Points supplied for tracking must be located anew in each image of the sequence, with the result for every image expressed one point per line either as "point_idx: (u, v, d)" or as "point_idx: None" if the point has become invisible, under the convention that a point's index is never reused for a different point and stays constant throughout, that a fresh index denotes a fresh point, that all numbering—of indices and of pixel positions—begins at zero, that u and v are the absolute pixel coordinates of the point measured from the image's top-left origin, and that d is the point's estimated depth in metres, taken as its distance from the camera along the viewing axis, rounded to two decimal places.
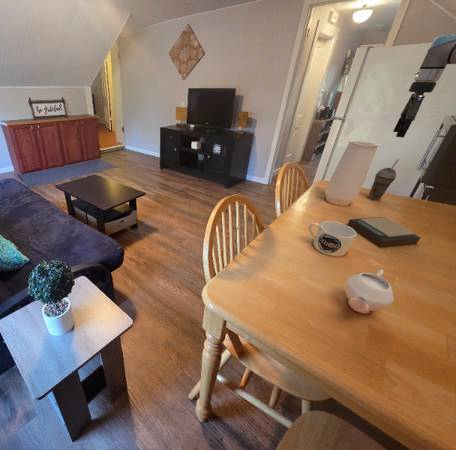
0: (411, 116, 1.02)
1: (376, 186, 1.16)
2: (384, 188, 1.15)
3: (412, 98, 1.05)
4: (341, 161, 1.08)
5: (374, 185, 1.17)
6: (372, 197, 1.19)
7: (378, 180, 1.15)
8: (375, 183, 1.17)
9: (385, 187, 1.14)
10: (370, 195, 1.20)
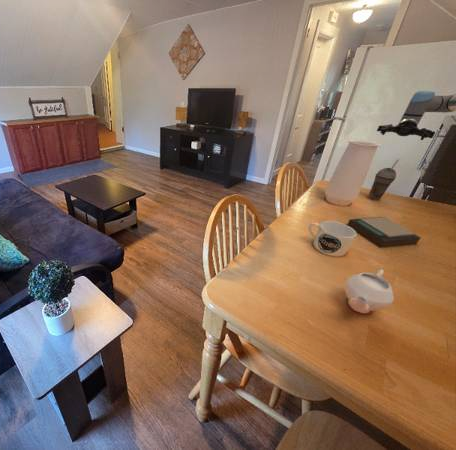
0: None
1: (375, 186, 1.16)
2: (384, 188, 1.15)
3: None
4: (341, 161, 1.08)
5: (374, 185, 1.17)
6: (372, 197, 1.19)
7: (378, 180, 1.15)
8: (375, 183, 1.17)
9: (385, 187, 1.14)
10: (370, 195, 1.20)
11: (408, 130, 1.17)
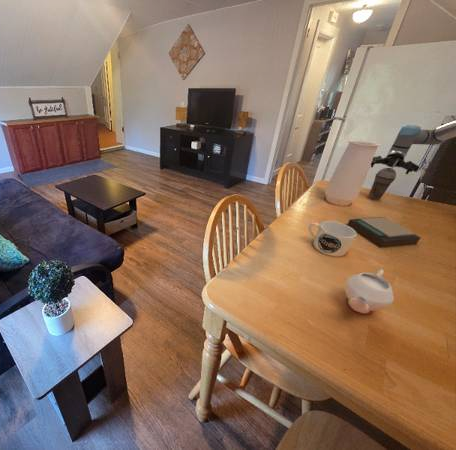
0: None
1: (375, 186, 1.16)
2: (384, 188, 1.15)
3: None
4: (341, 161, 1.08)
5: (374, 185, 1.17)
6: (372, 197, 1.19)
7: (378, 180, 1.15)
8: (375, 183, 1.17)
9: (385, 187, 1.14)
10: (370, 195, 1.20)
11: None
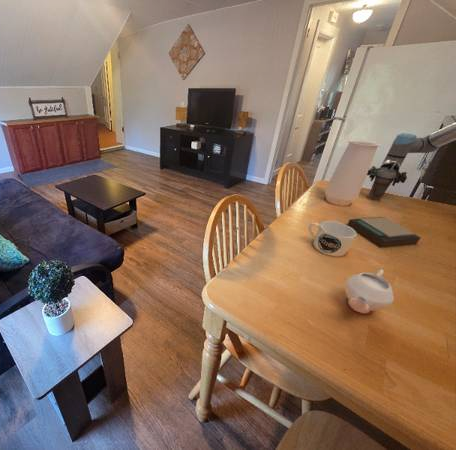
0: None
1: (375, 186, 1.16)
2: (384, 188, 1.15)
3: None
4: (341, 161, 1.08)
5: (374, 185, 1.17)
6: (372, 197, 1.19)
7: (378, 180, 1.15)
8: (375, 183, 1.17)
9: (385, 187, 1.14)
10: (370, 195, 1.20)
11: None
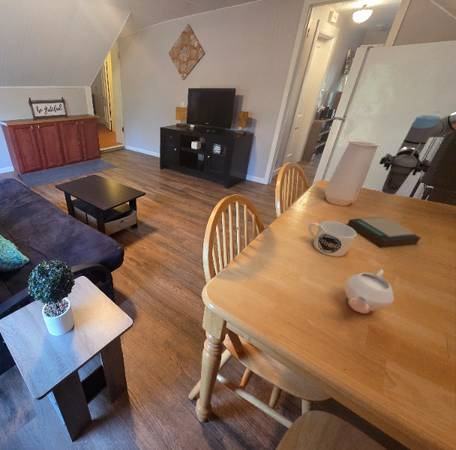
0: (381, 160, 1.02)
1: (391, 176, 0.97)
2: (402, 179, 0.95)
3: None
4: (341, 161, 1.08)
5: (390, 175, 0.98)
6: (387, 190, 1.00)
7: (395, 169, 0.95)
8: (391, 173, 0.97)
9: (403, 178, 0.95)
10: (384, 188, 1.00)
11: None
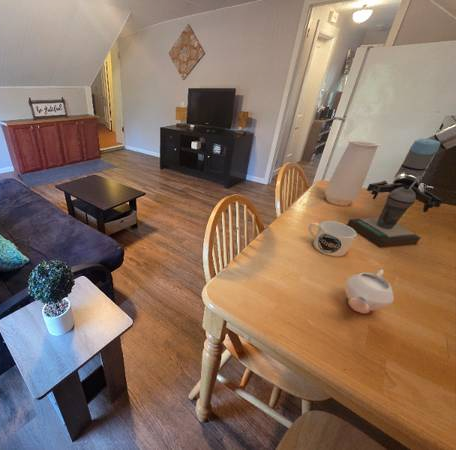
0: None
1: (388, 210, 0.88)
2: (399, 214, 0.86)
3: None
4: (341, 161, 1.08)
5: (386, 209, 0.88)
6: (383, 224, 0.90)
7: (391, 203, 0.86)
8: (387, 207, 0.88)
9: (401, 213, 0.86)
10: (380, 222, 0.91)
11: None
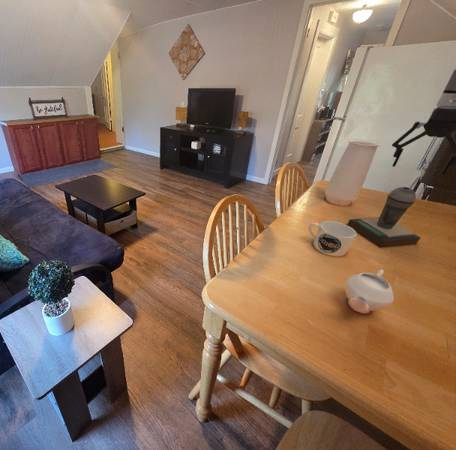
0: None
1: (388, 210, 0.88)
2: (399, 214, 0.86)
3: (448, 128, 0.83)
4: (341, 161, 1.08)
5: (386, 209, 0.88)
6: (383, 224, 0.90)
7: (391, 203, 0.86)
8: (387, 207, 0.88)
9: (401, 213, 0.86)
10: (380, 222, 0.91)
11: None
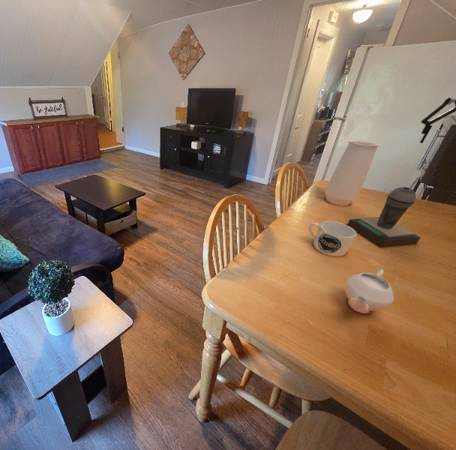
0: None
1: (388, 210, 0.88)
2: (399, 214, 0.86)
3: None
4: (341, 161, 1.08)
5: (386, 209, 0.88)
6: (383, 224, 0.90)
7: (391, 203, 0.86)
8: (387, 207, 0.88)
9: (401, 213, 0.86)
10: (380, 222, 0.91)
11: None
